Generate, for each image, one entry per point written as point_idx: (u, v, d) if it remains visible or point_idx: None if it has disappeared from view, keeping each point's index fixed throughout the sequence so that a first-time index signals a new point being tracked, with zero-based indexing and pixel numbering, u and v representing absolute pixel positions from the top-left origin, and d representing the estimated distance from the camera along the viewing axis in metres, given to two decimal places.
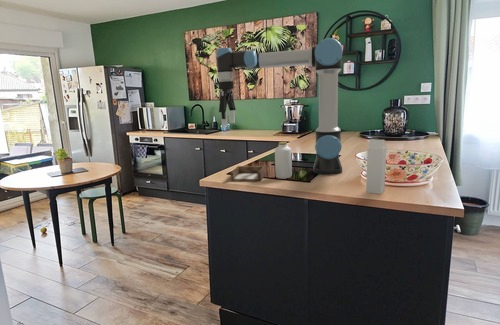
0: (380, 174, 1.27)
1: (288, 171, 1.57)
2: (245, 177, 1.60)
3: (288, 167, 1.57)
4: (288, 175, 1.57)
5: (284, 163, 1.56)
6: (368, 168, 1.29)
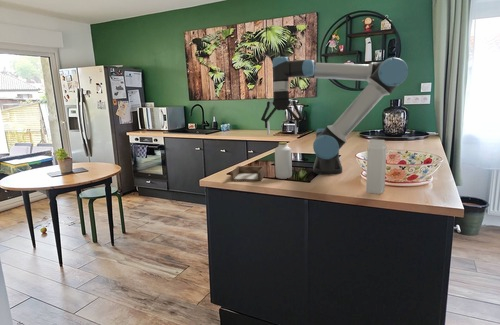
0: (380, 174, 1.27)
1: (288, 171, 1.57)
2: (245, 177, 1.60)
3: (288, 167, 1.57)
4: (288, 175, 1.57)
5: (284, 163, 1.56)
6: (368, 168, 1.29)
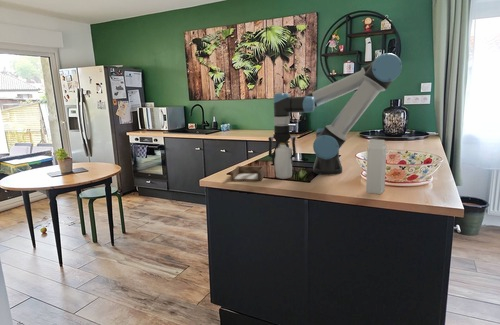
0: (380, 174, 1.27)
1: (288, 171, 1.57)
2: (245, 177, 1.60)
3: (289, 167, 1.57)
4: (288, 175, 1.57)
5: (284, 163, 1.56)
6: (368, 168, 1.29)
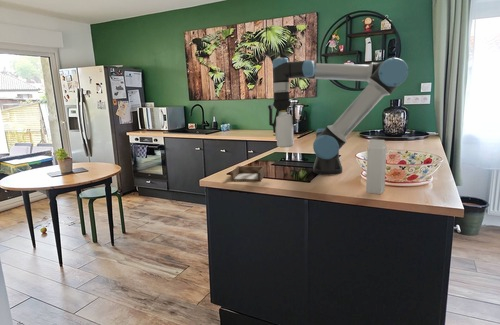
0: (380, 174, 1.27)
1: (290, 139, 1.53)
2: (245, 177, 1.60)
3: (290, 135, 1.53)
4: (290, 143, 1.54)
5: (286, 131, 1.52)
6: (368, 168, 1.29)
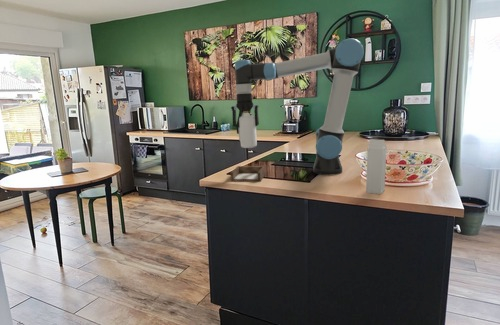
0: (380, 174, 1.27)
1: (252, 140, 1.55)
2: (245, 177, 1.60)
3: (253, 136, 1.55)
4: (252, 144, 1.56)
5: (248, 131, 1.54)
6: (368, 168, 1.29)
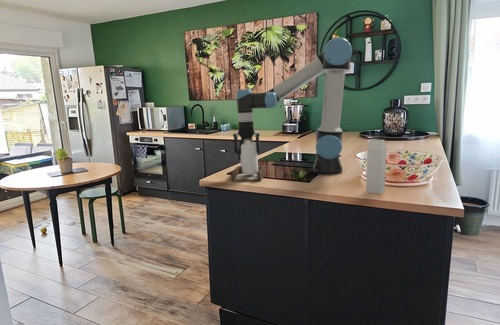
0: (380, 174, 1.27)
1: (254, 167, 1.58)
2: (245, 177, 1.60)
3: (254, 163, 1.58)
4: (254, 171, 1.59)
5: (249, 159, 1.57)
6: (368, 168, 1.29)
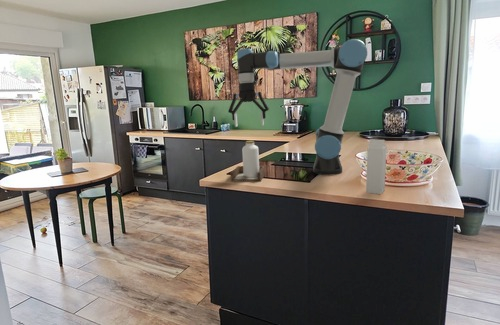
0: (380, 174, 1.27)
1: (255, 169, 1.59)
2: (245, 177, 1.60)
3: (255, 165, 1.58)
4: (255, 173, 1.59)
5: (251, 162, 1.57)
6: (368, 168, 1.29)
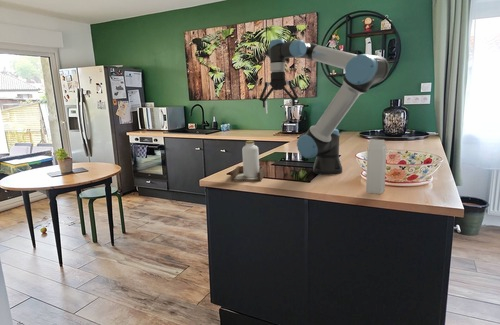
0: (380, 174, 1.27)
1: (255, 169, 1.59)
2: (245, 177, 1.60)
3: (255, 165, 1.58)
4: (255, 173, 1.59)
5: (251, 162, 1.57)
6: (368, 168, 1.29)
